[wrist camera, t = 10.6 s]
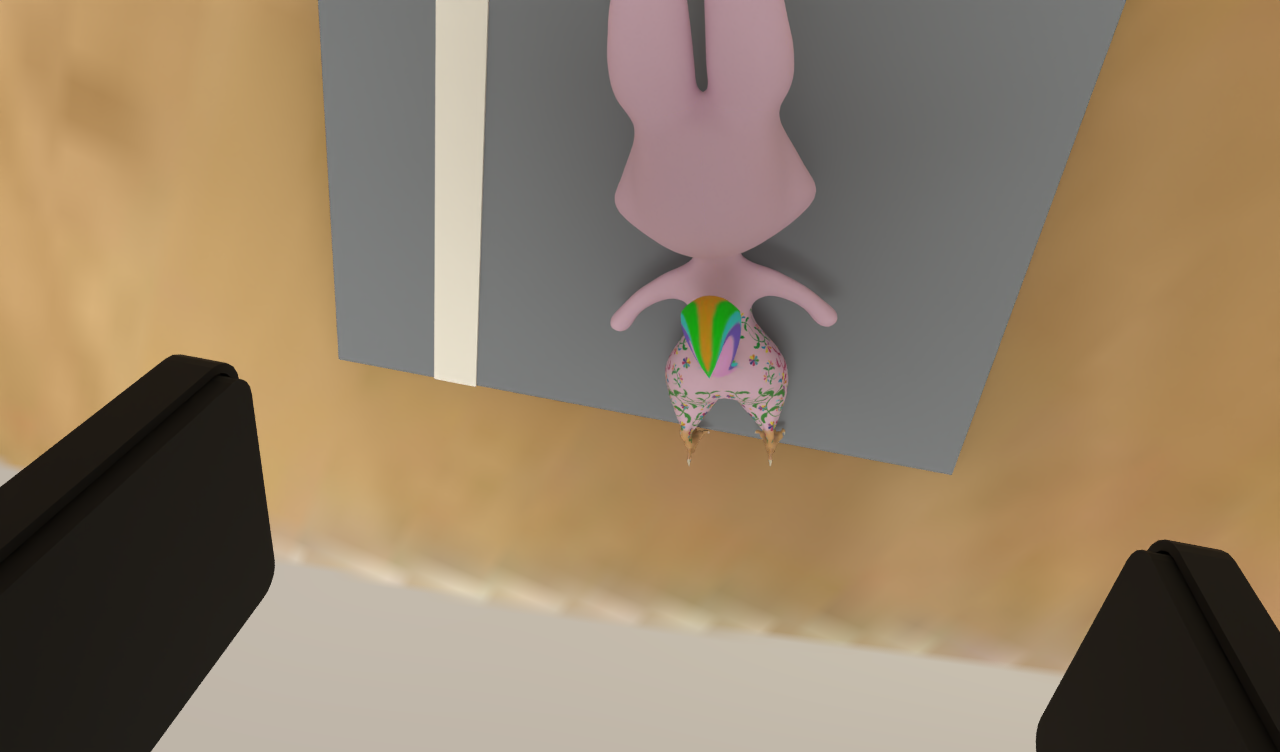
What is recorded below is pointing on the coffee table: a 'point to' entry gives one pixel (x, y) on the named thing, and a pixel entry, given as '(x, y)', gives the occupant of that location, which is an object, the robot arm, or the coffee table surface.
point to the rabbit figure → (712, 193)
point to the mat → (628, 259)
